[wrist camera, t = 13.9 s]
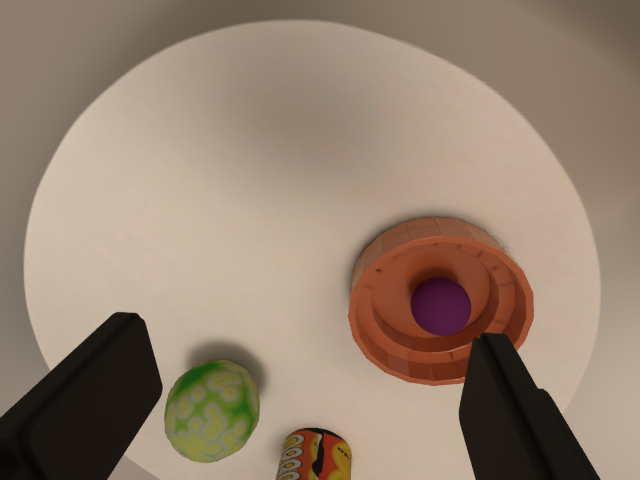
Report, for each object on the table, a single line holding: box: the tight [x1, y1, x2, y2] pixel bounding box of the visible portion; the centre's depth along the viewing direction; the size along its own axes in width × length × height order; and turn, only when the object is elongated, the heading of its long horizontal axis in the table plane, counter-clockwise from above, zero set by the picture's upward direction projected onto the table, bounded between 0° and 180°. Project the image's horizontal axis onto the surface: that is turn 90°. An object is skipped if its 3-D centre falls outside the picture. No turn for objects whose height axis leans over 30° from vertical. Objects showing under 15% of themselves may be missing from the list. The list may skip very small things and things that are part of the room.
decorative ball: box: [164, 360, 260, 463], centre depth 38 cm, size 10×10×10 cm
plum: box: [411, 277, 471, 336], centre depth 32 cm, size 5×5×5 cm
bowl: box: [348, 217, 534, 386], centre depth 32 cm, size 15×15×5 cm
